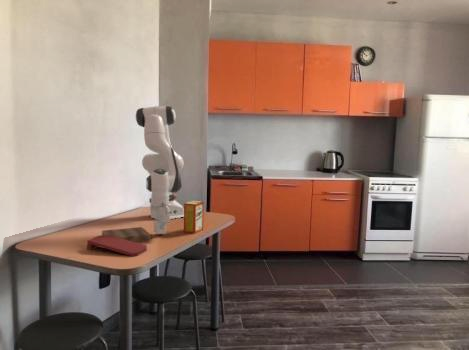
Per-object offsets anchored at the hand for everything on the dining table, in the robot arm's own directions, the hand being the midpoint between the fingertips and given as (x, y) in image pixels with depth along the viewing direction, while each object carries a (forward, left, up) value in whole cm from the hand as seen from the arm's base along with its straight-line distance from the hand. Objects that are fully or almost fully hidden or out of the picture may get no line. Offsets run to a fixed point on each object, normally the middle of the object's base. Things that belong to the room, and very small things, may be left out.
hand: (160, 227), depth 209 cm
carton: (+26, +18, -4) cm, 31 cm away
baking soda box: (-19, -1, -4) cm, 19 cm away
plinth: (+18, 0, -4) cm, 18 cm away
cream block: (0, 0, -2) cm, 2 cm away
